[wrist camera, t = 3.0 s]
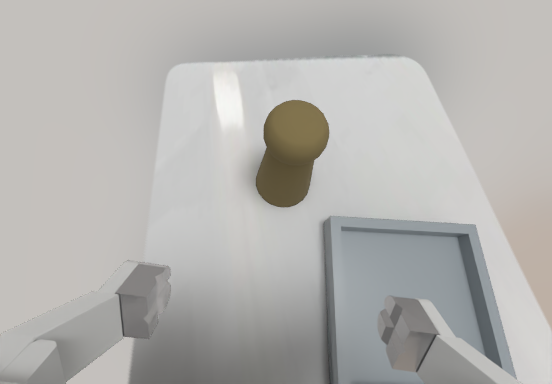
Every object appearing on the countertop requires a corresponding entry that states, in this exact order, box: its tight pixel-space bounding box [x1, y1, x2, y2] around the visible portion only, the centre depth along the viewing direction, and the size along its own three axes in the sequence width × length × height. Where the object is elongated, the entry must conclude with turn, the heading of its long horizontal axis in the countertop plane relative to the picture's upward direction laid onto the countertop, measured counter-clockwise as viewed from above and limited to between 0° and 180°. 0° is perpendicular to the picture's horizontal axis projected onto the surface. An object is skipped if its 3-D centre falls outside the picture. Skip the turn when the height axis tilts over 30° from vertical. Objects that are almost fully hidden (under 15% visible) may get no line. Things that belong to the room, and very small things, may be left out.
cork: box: [256, 100, 329, 207], centre depth 24 cm, size 6×6×11 cm
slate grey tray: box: [324, 216, 517, 384], centre depth 24 cm, size 15×15×2 cm
